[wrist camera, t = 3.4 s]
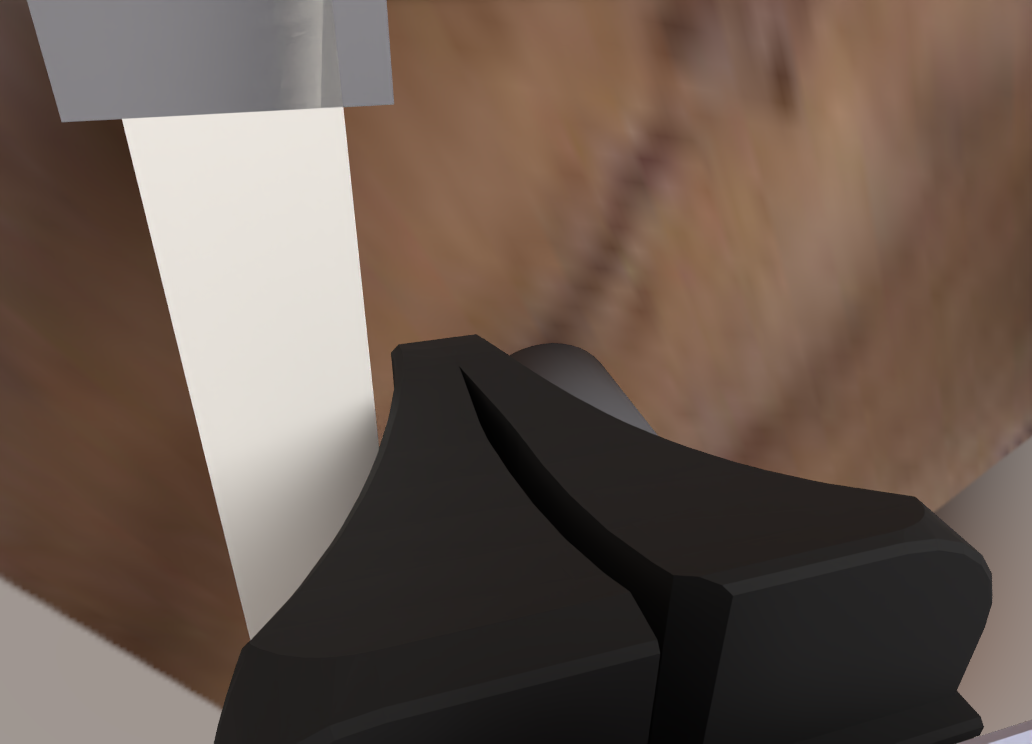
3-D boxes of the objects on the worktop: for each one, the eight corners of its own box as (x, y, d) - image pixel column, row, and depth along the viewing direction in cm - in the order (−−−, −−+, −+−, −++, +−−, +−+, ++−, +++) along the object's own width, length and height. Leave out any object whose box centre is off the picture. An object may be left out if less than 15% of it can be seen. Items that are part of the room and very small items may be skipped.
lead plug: (617, 333, 20) (714, 443, 16) (606, 459, 22) (690, 586, 18) (464, 354, 19) (524, 478, 15) (469, 484, 21) (522, 625, 17)
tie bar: (300, -261, 12) (352, -463, 6) (386, 543, 20) (446, 819, 14) (87, -275, 11) (-122, -522, 5) (267, 566, 19) (274, 869, 13)
